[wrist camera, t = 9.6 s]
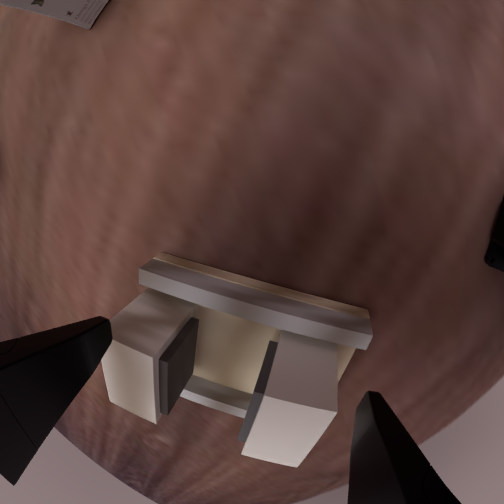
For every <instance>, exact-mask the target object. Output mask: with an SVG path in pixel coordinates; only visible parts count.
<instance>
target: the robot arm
mask: <svg viewBox="0 0 504 504" xmlns="http://www.w3.org/2000/svg"><path fill="white" fill-rule="evenodd" d="M491 257H492V260H491V261H490V258H491ZM485 262H486V264H488V265H489V266H490V267H493V268H496V269H498V270H501V271H503V272H504V199H503V203H502V206H501V210H500V214H499V217H498V220H497V224H496V227H495V230H494V233H493V236H492V240H491V242H490V245H489V248H488V251H487V254H486V256H485ZM112 339H113V336H112V329H111V322H110V320H109V319H107V318H104V317H102V316H98V317H94V318H90V319H87V320H83V321H79V322H76V323H72V324H68V325H65V326H61V327H57V328H53V329H50V330H46V331H42V332H38V333H35V334H31V335H27V336H23V337H20V338H15V339H11V340H7V341H3V342H0V474H1V475H2V476H3V477H4V478H5V479H7V480H8V481H9V482H10V483H11V484H12V485H13V486H14V485H15V484H16V483H17V481H18V480H19V478H20V476H21V475H22V473H23V472H24V470H25V468H26V467H27V466H28V464H29V463H30V461H31V459H32V458H33V456H34V455H35V454H36V452H37V451H38V449H39V447H40V446H41V444H42V443H43V441H44V440H45V439H46V437H47V436H48V434H49V433H50V431H51V430H52V429H53V427H54V426H55V424H56V423H57V422H58V420H59V419H60V417H61V416H62V415H63V413H64V412H65V410H66V409H67V408H68V406H69V405H70V403H71V402H72V401H73V399H74V398H75V397H76V395H77V394H78V393H79V391H80V390H81V389H82V387H83V386H84V385H85V383H86V382H87V381H88V379H89V378H90V377H91V375H92V374H93V372H94V371H95V369H96V368H97V366H98V364H99V363H100V361H101V359H102V358H103V356H104V354H105V353H106V351H107V349H108V348H109V346H110V345H111V343H112ZM348 504H461V503H460V501H459V500H458V499H457V498H456V497H455V496H454V495H453V494H452V492H451V491H450V490H449V489H448V487H447V486H446V485H445V484H444V483H443V481H442V480H441V479H440V477H439V476H438V474H437V473H436V471H435V470H434V469H433V467H432V466H430V463H429V462H428V460H427V459H426V457H425V456H424V454H423V453H422V452H421V450H420V449H419V447H418V446H417V444H416V443H415V442H414V440H413V439H412V437H411V436H410V434H409V433H408V432H407V430H406V429H405V427H404V426H403V425H402V423H401V422H400V420H399V419H398V418H397V416H396V415H395V413H394V412H393V411H392V409H391V408H390V406H389V405H388V404H387V402H386V401H385V399H384V398H383V397H382V395H381V394H380V393H379V392H374V391H367V392H366V393H365V395H364V397H363V398H362V400H361V402H360V403H359V405H358V407H357V410H356V414H355V423H354V430H353V438H352V444H351V453H350V474H349V492H348Z"/></svg>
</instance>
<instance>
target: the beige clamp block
mask: <svg viewBox="0 0 504 504" xmlns="http://www.w3.org/2000/svg"><path fill="white" fill-rule="evenodd" d="M139 284H141V285H144V286H146V287H148V288H147V289H146V290H145V291H144V292H142V293H141V294H140V295H139V296H138V297H137V298H135V299H134V300H133V301H132V302H131V303H129V304H128V305H127V306H126V307H125V308H124V309H122V310H121V311H120V312H119V313H118V314H117V315H115V316H114V317H113V318H112V319H111V320H110V322H111V329H112V336H113V339H112V343H111V345H110V346H109V348H108V349H107V351H106V353H105V354H104V356H103V358H102V359H101V361H102V366H103V371H104V376H105V381H106V386H107V390H108V395H109V399H110V401H111V402H113V403H114V404H116V405H118V406H120V407H122V408H124V409H126V410H128V411H130V412H132V413H134V414H136V415H138V416H140V417H142V418H144V419H146V420H149V421H151V422H153V423H155V424H157V422H158V421H159V419H160V417H161V416H162V414H165V415H167V416H168V414H169V413H170V411H171V409H172V408H173V406H174V404H175V403H176V401H177V399H178V398H179V396H181V397H183V398H186V399H189V400H191V401H194V402H197V403H199V404H202V405H205V406H208V407H211V408H214V409H217V410H220V411H223V412H226V413H229V414H232V415H235V416H239V417H242V418H245V415H246V412H247V409H248V406H249V403H250V400H251V397H252V394H253V391H254V388H255V385H256V382H257V379H258V376H259V373H260V370H261V367H262V363H263V360H264V357H265V354H266V351H267V347H268V344H269V341H270V340H271V341H274V342H278V340H279V336H280V333H281V330H285V331H289V332H293V333H297V334H300V335H304V336H308V337H312V338H316V339H320V340H324V341H328V342H332V343H336V344H337V362H338V382H339V380H340V378H341V376H342V374H343V372H344V371H345V369H346V367H347V365H348V363H349V361H350V359H351V357H352V355H353V353H354V351H355V349H356V348H358V349H363V350H366V349H367V347H368V345H369V343H370V341H371V339H372V337H373V333H372V328H371V324H370V316H369V312H368V309H364V308H360V307H356V306H352V305H348V304H344V303H340V302H337V301H333V300H329V299H325V298H321V297H318V296H314V295H310V294H306V293H303V292H299V291H295V290H291V289H288V288H284V287H280V286H277V285H273V284H270V283H266V282H262V281H259V280H255V279H252V278H248V277H245V276H241V275H238V274H234V273H231V272H227V271H224V270H220V269H217V268H213V267H210V266H206V265H203V264H200V263H196V262H193V261H189V260H186V259H183V258H179V257H176V256H173V255H169V254H166V253H163V252H161V253H159V254H158V255H156V256H155V257H154V259H152V260H151V261H149V262H148V263H146V264H145V265H143V266H142V267H141V268H139Z"/></svg>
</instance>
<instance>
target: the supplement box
mask: <svg viewBox="0 0 504 504" xmlns="http://www.w3.org/2000/svg"><path fill="white" fill-rule="evenodd" d="M108 1H109V0H0V5H2V6H7V7H12V8H17V9H22V10H26V11H30V12H34V13H38V14H42V15H45V16H49V17H52V18H55V19H59V20H62V21H65V22H68V23H71V24H74V25H77V26H80V27H83V28H86V29H90V28H91V26H92V24H93V23H94V21H95V19H96V18H97V16H98V15H99V13H100V12H101V11H102V9H103V8H104V6H105V5H106V4H107V2H108Z"/></svg>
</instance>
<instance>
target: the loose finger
mask: <svg viewBox="0 0 504 504" xmlns="http://www.w3.org/2000/svg"><path fill="white" fill-rule="evenodd" d="M337 405H338V362H337V344H336V343H332V342H328V341H324V340H320V339H316V338H312V337H308V336H304V335H300V334H297V333H293V332H289V331H285V330H281V333H280V336H279V340H278V342H274V341H271V340H270V341H269V344H268V347H267V351H266V354H265V357H264V360H263V363H262V367H261V370H260V373H259V376H258V379H257V382H256V385H255V388H254V391H253V394H252V397H251V400H250V403H249V406H248V409H247V412H246V415H245V418H244V421H243V424H242V427H241V430H240V433H239V436H238V438H237V440H239V441H243V442H245V444H244V447H243V450H242V453H241V454H242V455H246V456H249V457H253V458H257V459H261V460H265V461H269V462H273V463H278V464H282V465H287V466H292V467H298V466H299V464H300V463H301V462H302V461H303V459H304V458H305V457H306V456H307V454H308V453H309V452H310V450H311V449H312V448H313V446H314V445H315V444H316V442H317V441H318V440H319V438H320V437H321V435H322V434H323V433H324V431H325V430H326V428H327V427H328V425H329V424H330V423H331V421H332V420H333V418H334V417H335V415H336V414H337Z"/></svg>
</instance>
